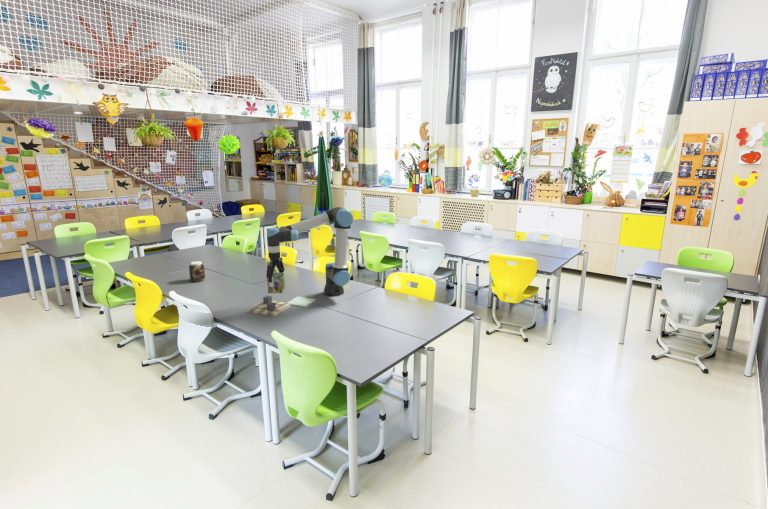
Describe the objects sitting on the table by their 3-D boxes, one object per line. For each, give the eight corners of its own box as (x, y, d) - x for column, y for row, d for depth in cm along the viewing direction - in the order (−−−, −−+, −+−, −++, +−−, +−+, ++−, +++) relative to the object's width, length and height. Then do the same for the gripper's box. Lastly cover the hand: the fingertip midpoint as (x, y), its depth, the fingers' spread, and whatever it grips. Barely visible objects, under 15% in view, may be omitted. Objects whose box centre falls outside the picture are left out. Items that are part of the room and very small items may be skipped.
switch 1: (271, 301, 277) (271, 296, 276) (268, 303, 274) (268, 298, 273) (266, 301, 279) (266, 295, 278) (263, 303, 275) (263, 297, 274)
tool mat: (316, 300, 289) (316, 298, 288) (305, 307, 275) (305, 305, 275) (297, 297, 293) (297, 296, 293) (286, 304, 279) (286, 303, 279)
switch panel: (290, 306, 277) (290, 303, 276) (274, 316, 259) (274, 313, 259) (265, 302, 283) (265, 299, 282) (248, 312, 265) (248, 309, 265)
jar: (186, 281, 328) (184, 263, 325) (197, 277, 339) (195, 260, 335) (198, 283, 324) (196, 264, 321) (208, 279, 335) (207, 261, 332)
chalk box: (281, 293, 267) (280, 271, 264) (267, 293, 268) (266, 271, 264) (285, 289, 276) (284, 268, 273) (272, 288, 277) (270, 267, 273)
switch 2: (275, 308, 265) (275, 302, 264) (272, 310, 261) (272, 304, 260) (270, 307, 266) (270, 302, 265) (267, 310, 263) (266, 304, 262)
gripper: (279, 247, 277) (281, 278, 283) (258, 255, 256) (261, 288, 262) (288, 248, 275) (290, 279, 280) (268, 256, 254) (271, 290, 259)
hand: (276, 284), depth 271 cm, fingers closed on chalk box, 10 cm apart
